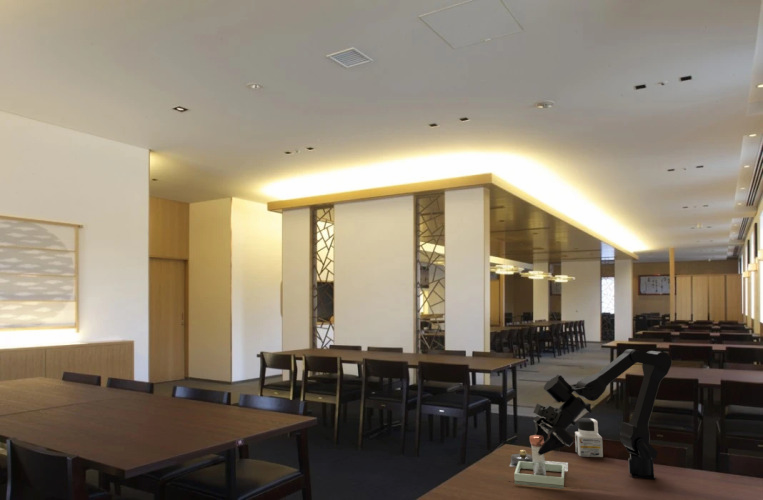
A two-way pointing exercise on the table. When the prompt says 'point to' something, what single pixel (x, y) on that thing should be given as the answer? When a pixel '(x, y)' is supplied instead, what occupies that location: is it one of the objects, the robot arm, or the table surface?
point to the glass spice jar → (537, 455)
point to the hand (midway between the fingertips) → (534, 450)
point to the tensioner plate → (531, 460)
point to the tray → (539, 476)
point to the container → (588, 438)
